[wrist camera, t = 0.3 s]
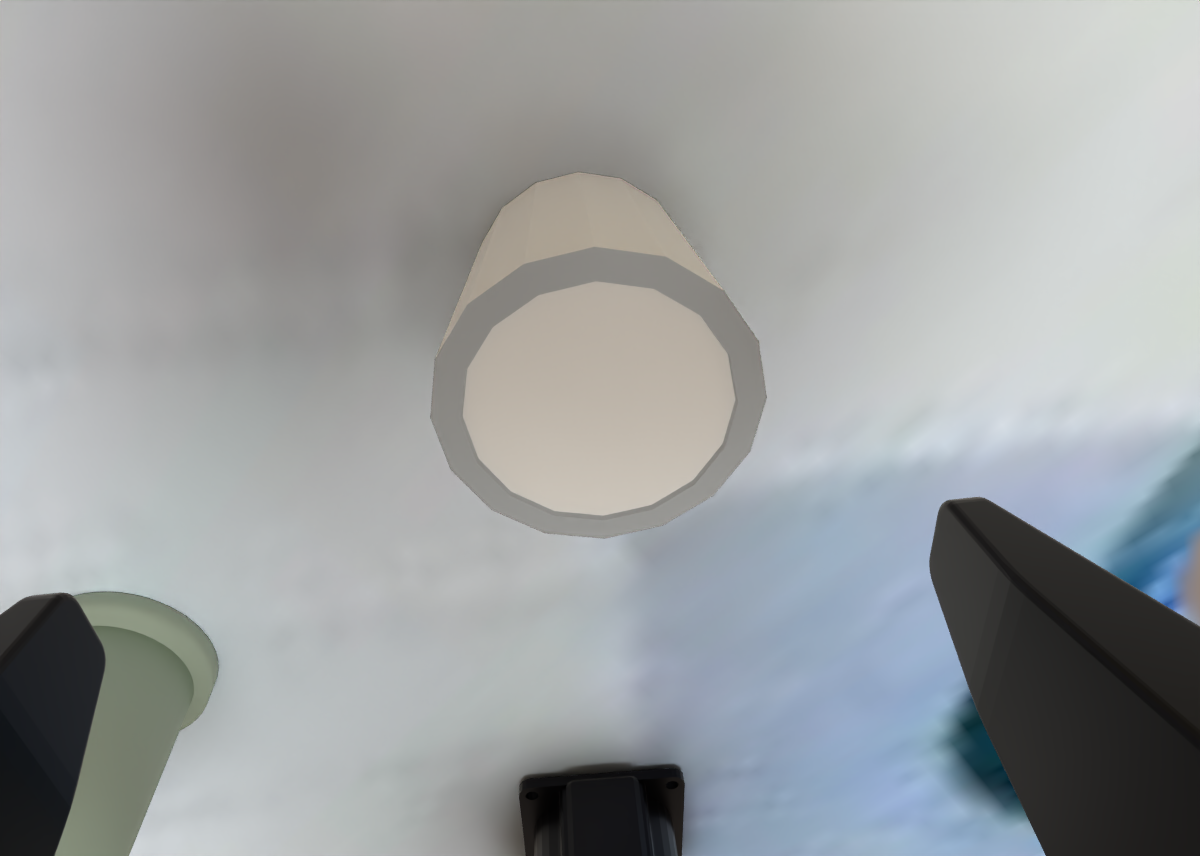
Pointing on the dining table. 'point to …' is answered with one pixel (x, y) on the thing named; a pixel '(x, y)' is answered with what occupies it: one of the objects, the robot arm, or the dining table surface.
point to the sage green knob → (134, 716)
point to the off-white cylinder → (594, 365)
